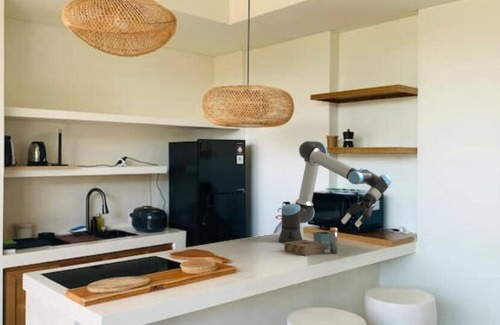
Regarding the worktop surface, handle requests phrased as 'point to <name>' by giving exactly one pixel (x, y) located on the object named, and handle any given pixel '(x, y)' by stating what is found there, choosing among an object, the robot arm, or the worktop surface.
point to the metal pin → (333, 240)
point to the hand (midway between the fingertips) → (349, 224)
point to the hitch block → (304, 247)
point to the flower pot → (322, 238)
